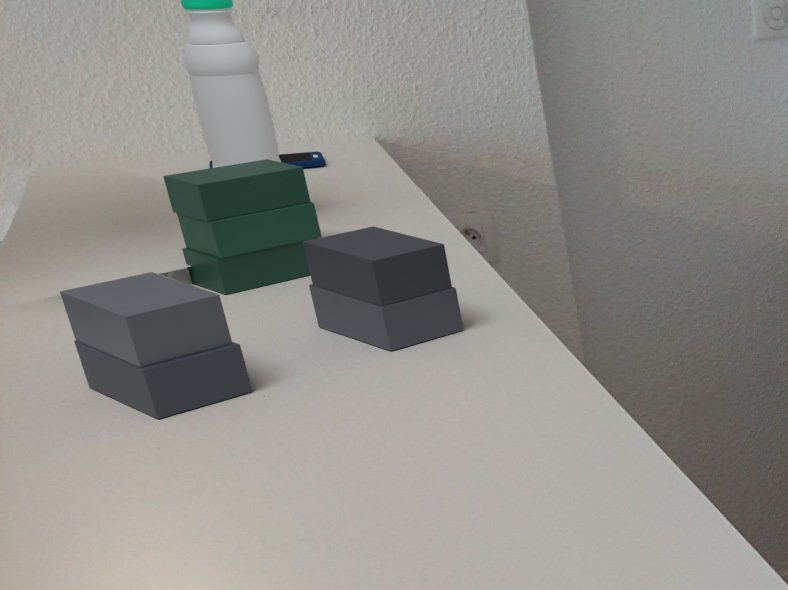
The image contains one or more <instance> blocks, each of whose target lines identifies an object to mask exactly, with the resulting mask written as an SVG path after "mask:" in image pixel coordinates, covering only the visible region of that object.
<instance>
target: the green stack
mask: <svg viewBox="0 0 788 590" xmlns="http://www.w3.org/2000/svg"><path fill="white" fill-rule="evenodd" d="M176 216H177V219H178V223H179V227H180V230H181V233H182V238H183V240H184V244H185V247H183V248H181V251H182V254H183V257H184V261H185V264H186V265H187V272H188V275H189V278H190V282H191V284H192V285H195V286H199V287H202V288H204V289H208V290H211V291H213V292H217V293H219V294H223V295H230V294H236V293H239V292H245V291H248V290H252V289H257V288H261V287H265V286H269V285H274V284H278V283H282V282H287V281H291V280H294V279H299V278H304V277H309V276H311V275H310V271H309V267H308V262H307V258H306V254H305V250H304V245H303V241H307V240H312V239H317V238H321V237H323V236H322V232H321V227H320V223H319V218H318V214H317V210H316V206H315V202H312V201H311V202H310V203H305V204H300V205H295V206H289V207H284V208H279V209H274V210H268V211H263V212H258V213H252V214H247V215H242V216H237V217H231V218H226V219H221V220H216V221H210V222H206V221H203V220H199V219H196V218H192V217H188V216H185V215H181V214H178V213H176Z"/></svg>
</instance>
